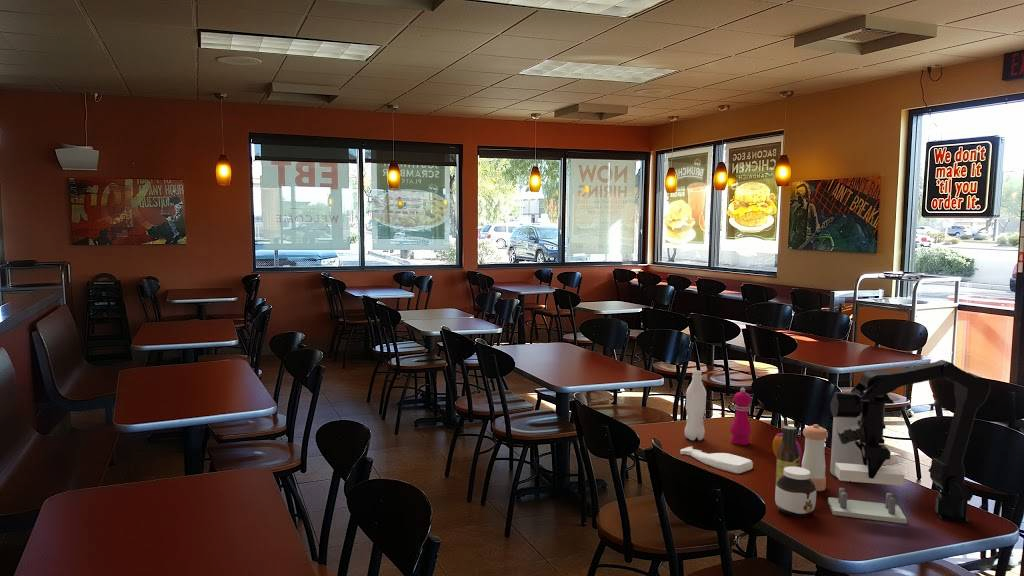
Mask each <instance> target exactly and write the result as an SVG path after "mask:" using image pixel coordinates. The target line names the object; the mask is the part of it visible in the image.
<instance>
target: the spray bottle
mask: <svg viewBox="0 0 1024 576" xmlns="http://www.w3.org/2000/svg"><path fill="white" fill-rule="evenodd" d="M679 454H680V455H686V456H691V457H692V458H694V459H695V460H698V461H699V462H701V463H702V464H705V465H707V466H711V467H713V468H716V469H719V470H722V471H725V472H729V473H733V474H741V473H745V472H747V471H750V470H752V469H753V468H754V463H753V461H752V460H751V459H749V458H747V457H746V458H745V457H743V456H739V455H735V454H732V453H727V452H714V453H707V452H703V450H700V449H694V446H687V447H684V448H681V449H680V451H679Z"/></svg>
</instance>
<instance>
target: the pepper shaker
mask: <svg viewBox="0 0 1024 576" xmlns="http://www.w3.org/2000/svg"><path fill="white" fill-rule="evenodd" d="M802 435H803V437H804V438H805V439H804V452H803V456H802V460H801V468H804V469H807V470H809V471H810V479H811V480H812V481H813V483H814V484H815V486H816V492H822V491H825V490H826V484H827V476H826V467H827V466H826V456H825V446H826V445H825V444H826V440H827V439H828V438H829V433H828V430H827V429H826V428H824V427H822V426H820V425H819V424H817V423H815V424H813V425H809V426H806V427H804V428H803V431H802Z"/></svg>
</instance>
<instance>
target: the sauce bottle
mask: <svg viewBox="0 0 1024 576" xmlns="http://www.w3.org/2000/svg"><path fill="white" fill-rule="evenodd" d="M797 429H798V428H797V427H795V426H792V425H783V426H782V427H781V433H782V443H781V445H780V446H779V448H778V450H777V457H776V466H775V467H776V470H775V485H776V484H777V481H778V480H779V478H780V477H782V476H783V475H784V474H783V473H784V468H785V467H800V461H801V459H800V454H799V451H798V448H797V445H796V441H797V431H798V430H797Z"/></svg>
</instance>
